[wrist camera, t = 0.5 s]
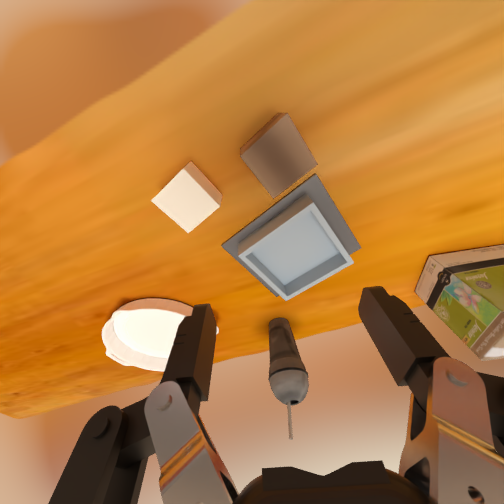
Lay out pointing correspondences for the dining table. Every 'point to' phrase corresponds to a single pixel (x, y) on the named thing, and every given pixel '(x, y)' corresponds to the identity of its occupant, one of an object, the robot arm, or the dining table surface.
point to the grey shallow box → (295, 241)
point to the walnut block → (278, 155)
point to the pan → (144, 332)
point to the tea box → (468, 296)
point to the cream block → (188, 198)
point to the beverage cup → (286, 367)
